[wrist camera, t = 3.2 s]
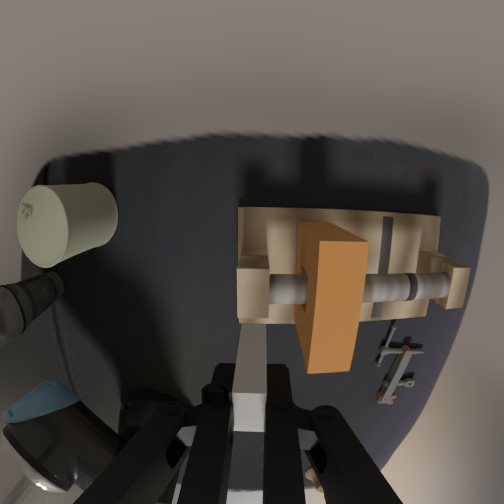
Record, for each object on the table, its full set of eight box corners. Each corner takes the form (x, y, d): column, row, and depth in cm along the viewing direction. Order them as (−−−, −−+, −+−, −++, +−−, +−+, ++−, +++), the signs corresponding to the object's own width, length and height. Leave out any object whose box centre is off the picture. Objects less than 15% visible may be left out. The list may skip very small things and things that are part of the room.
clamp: (405, 403, 39) (358, 405, 39) (400, 396, 41) (355, 397, 41) (441, 331, 35) (393, 328, 35) (434, 326, 38) (387, 321, 37)
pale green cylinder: (85, 170, 33) (29, 169, 21) (129, 205, 34) (77, 215, 22) (61, 223, 35) (6, 237, 23) (101, 259, 36) (50, 286, 24)
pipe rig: (239, 319, 37) (233, 359, 28) (238, 206, 34) (230, 213, 25) (422, 313, 36) (454, 342, 27) (437, 215, 33) (478, 225, 24)
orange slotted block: (293, 316, 35) (307, 373, 23) (298, 221, 32) (319, 241, 20) (324, 316, 35) (349, 370, 23) (331, 222, 32) (369, 242, 20)
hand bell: (347, 461, 45) (361, 516, 29) (331, 478, 47) (341, 530, 31) (313, 461, 45) (322, 521, 29) (299, 478, 47) (305, 533, 31)
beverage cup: (38, 292, 38) (-39, 340, 18) (42, 256, 36) (-47, 295, 17) (67, 312, 38) (-10, 373, 19) (72, 275, 37) (-19, 328, 17)
